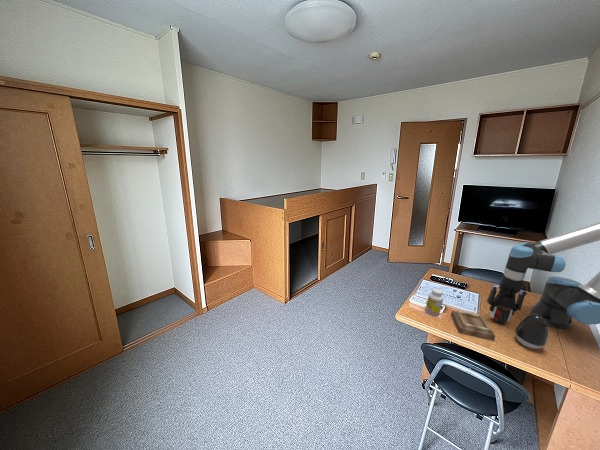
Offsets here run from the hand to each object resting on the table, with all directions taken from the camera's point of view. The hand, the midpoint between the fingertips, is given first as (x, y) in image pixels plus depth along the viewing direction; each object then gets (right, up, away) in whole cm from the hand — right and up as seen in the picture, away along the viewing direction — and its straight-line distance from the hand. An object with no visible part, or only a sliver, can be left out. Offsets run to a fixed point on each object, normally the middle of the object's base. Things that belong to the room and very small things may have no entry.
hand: (499, 318), depth 123 cm
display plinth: (-17, -2, -4) cm, 18 cm away
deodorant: (0, -2, +1) cm, 2 cm away
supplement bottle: (-31, +1, +5) cm, 31 cm away
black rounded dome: (+1, -6, -14) cm, 15 cm away
